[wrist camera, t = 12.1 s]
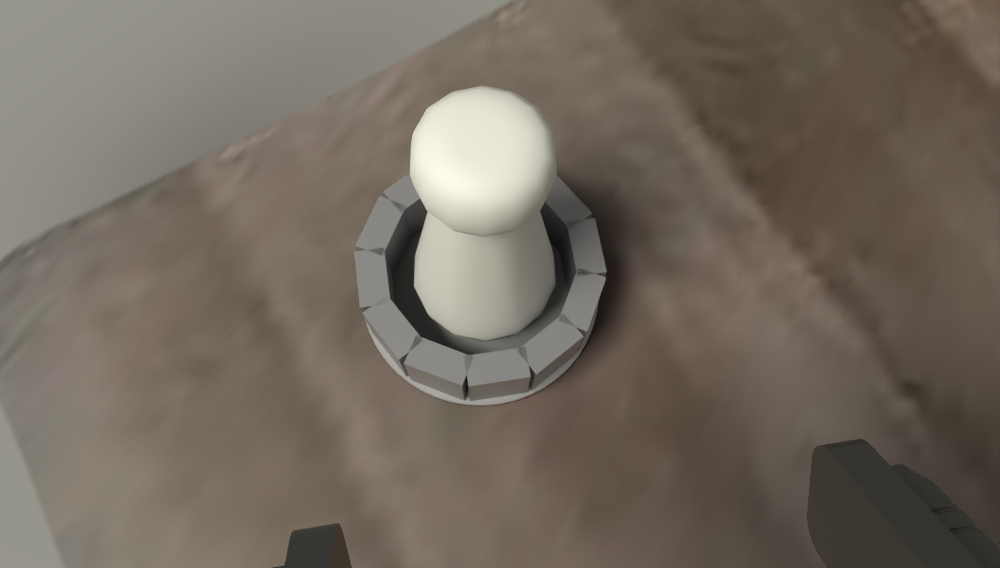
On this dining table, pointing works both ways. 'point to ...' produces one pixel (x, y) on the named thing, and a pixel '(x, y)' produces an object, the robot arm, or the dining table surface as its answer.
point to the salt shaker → (483, 212)
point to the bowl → (462, 361)
